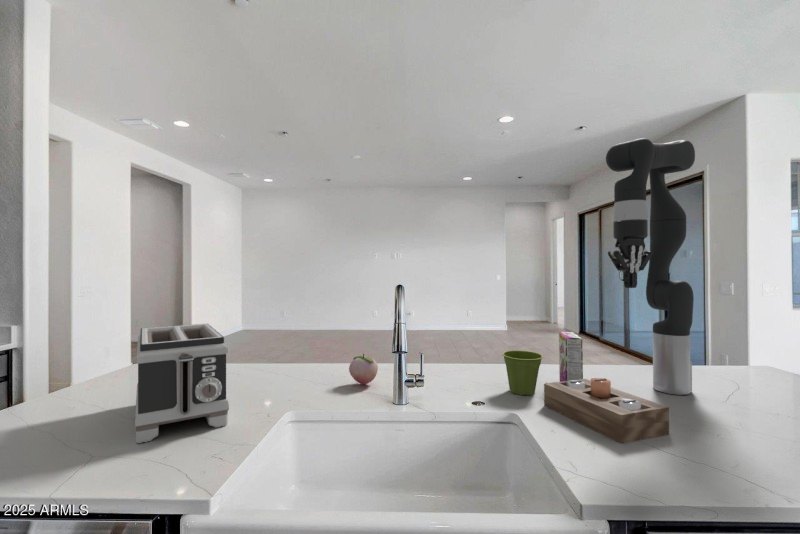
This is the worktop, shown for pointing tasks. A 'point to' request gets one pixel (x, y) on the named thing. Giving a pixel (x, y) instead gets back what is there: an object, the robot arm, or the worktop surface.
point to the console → (608, 412)
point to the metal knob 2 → (629, 404)
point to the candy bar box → (570, 356)
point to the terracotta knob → (600, 387)
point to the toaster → (180, 377)
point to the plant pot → (522, 370)
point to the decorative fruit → (363, 369)
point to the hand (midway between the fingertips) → (630, 287)
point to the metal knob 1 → (575, 384)
